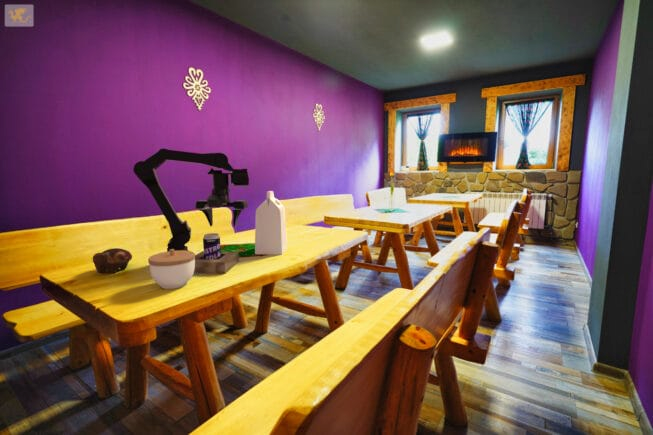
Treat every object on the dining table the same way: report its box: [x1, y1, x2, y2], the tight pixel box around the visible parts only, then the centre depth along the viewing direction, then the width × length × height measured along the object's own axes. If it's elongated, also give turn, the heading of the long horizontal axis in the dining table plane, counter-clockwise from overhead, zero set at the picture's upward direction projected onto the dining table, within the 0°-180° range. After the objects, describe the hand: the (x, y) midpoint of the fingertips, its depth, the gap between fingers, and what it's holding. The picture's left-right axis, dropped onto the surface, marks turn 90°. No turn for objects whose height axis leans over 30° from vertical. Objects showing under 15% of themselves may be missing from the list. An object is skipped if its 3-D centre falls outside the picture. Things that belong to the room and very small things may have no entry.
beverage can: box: [202, 232, 222, 260], centre depth 108 cm, size 6×6×12 cm
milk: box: [254, 190, 288, 256], centre depth 130 cm, size 12×12×26 cm
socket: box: [194, 250, 240, 275], centre depth 108 cm, size 14×14×4 cm
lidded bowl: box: [147, 249, 196, 290], centre depth 91 cm, size 13×13×11 cm
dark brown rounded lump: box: [92, 247, 133, 274], centre depth 104 cm, size 10×15×8 cm, turn 0°
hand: (222, 226), depth 118 cm, fingers open, 9 cm apart
